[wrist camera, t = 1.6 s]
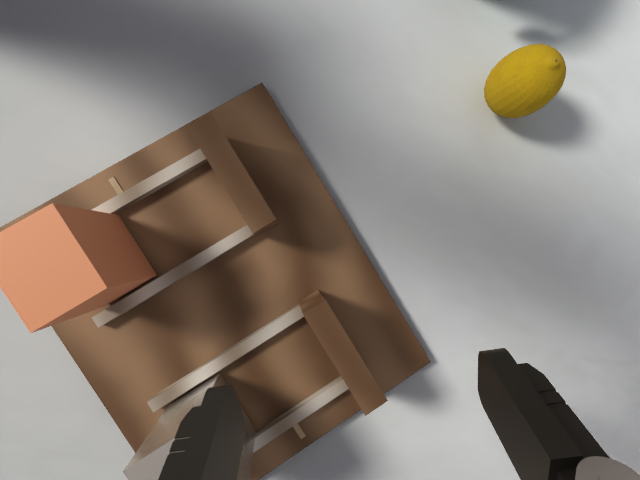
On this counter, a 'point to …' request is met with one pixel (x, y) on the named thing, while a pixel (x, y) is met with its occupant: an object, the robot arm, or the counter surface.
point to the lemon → (525, 80)
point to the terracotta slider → (68, 264)
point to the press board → (238, 287)
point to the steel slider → (159, 440)
